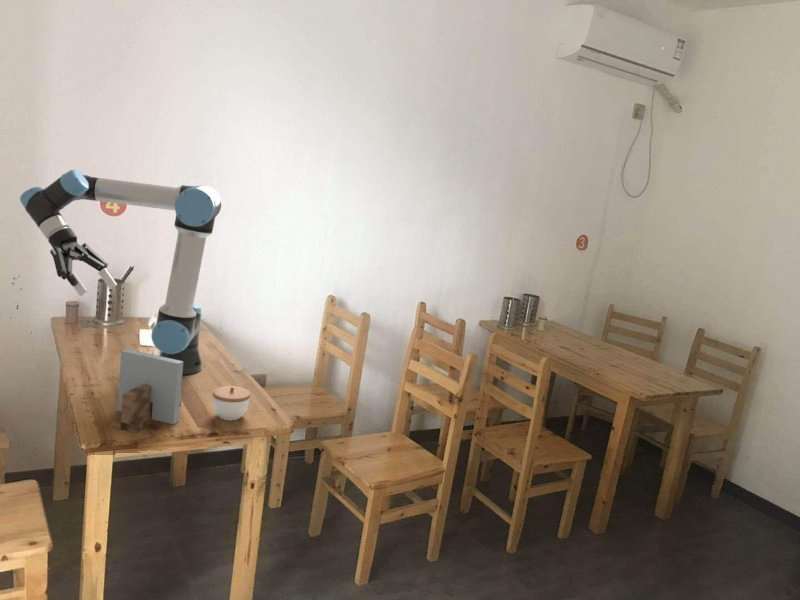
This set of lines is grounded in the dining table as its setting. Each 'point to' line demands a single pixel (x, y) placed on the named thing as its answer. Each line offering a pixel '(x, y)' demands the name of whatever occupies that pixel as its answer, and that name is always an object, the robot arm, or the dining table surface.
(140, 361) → the slotted plate
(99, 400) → the dining table surface
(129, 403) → the walnut board
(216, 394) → the lidded jar
